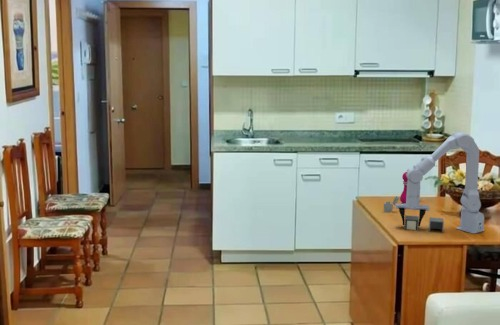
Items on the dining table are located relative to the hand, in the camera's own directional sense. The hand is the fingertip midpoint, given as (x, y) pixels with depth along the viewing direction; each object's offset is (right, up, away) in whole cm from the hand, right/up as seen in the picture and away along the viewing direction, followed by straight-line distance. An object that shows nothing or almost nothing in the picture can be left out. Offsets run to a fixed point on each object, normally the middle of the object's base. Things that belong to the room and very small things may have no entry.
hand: (411, 225), depth 266 cm
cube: (0, -2, 0) cm, 2 cm away
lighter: (-3, +3, +28) cm, 28 cm away
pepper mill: (+8, +5, +37) cm, 39 cm away
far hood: (0, -1, 0) cm, 1 cm away
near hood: (+10, -2, -3) cm, 11 cm away
